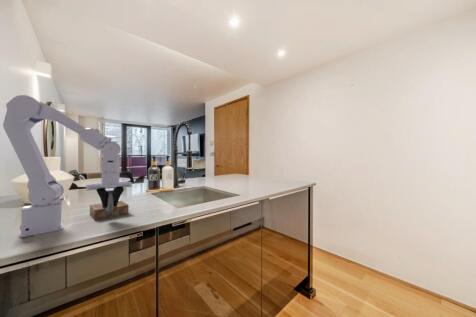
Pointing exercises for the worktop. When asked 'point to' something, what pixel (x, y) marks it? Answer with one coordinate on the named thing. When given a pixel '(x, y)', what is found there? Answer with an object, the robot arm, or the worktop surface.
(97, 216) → the hole block
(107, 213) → the peg
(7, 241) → the worktop surface
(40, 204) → the robot arm
